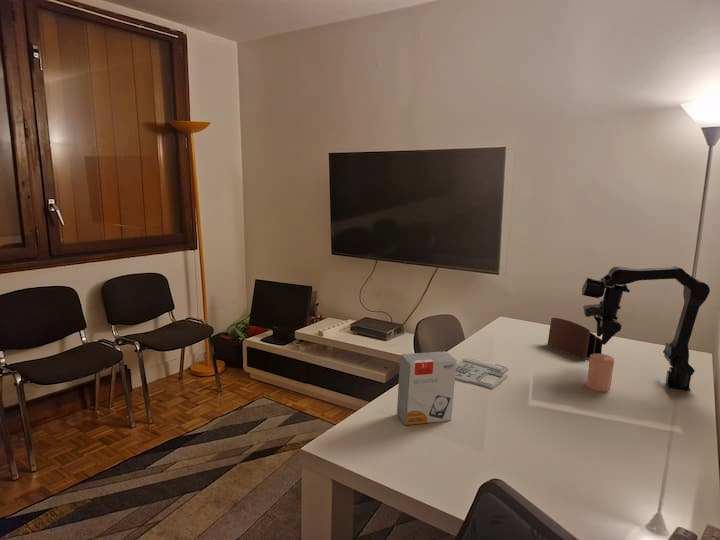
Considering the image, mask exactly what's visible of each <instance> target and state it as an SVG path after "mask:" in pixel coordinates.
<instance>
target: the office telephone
mask: <svg viewBox="0 0 720 540" xmlns="http://www.w3.org/2000/svg"><path fill="white" fill-rule="evenodd" d="M508 371H510V370H509V367H506V365H502V364H498V363H493V362H489V361H486V360H483V359H478V358H475V357H472V356H467V357H465V358H464V359H462V360H461V361H459V362H456V373H455V381H460V382H462V383H465V384H473V385H475V386H476V385H477V386H479V387H483V388H487V389H489V390H495V389H496V388H498V386H500V385H501V384H502V383H503V382H504V381H505V380H506V379H507V378H508V374H506V373H507V372H508ZM487 375H489V376H490V375H491V376H495V377H497V378H499V379H498V380H496V381H495V382H494V383H488V382H486V381H481V380H482V379H484V377H486V376H487Z"/></svg>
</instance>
